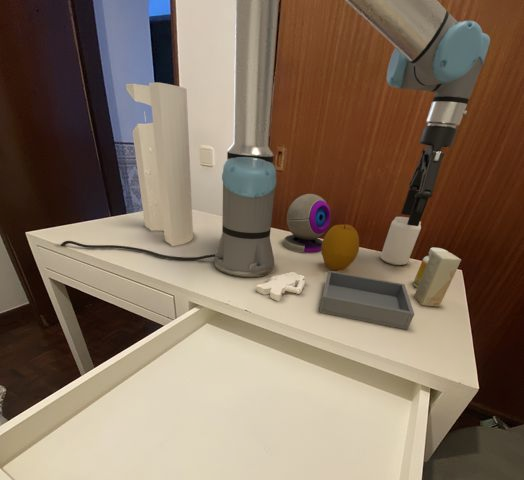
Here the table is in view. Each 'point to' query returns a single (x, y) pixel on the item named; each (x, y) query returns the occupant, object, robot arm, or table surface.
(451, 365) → the table surface
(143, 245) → the table surface
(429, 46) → the robot arm
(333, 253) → the apple
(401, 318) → the tray
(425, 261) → the supplement bottle
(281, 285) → the white abstract figurine
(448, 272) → the box
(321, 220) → the webcam
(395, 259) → the beverage can
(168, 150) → the white tall block
